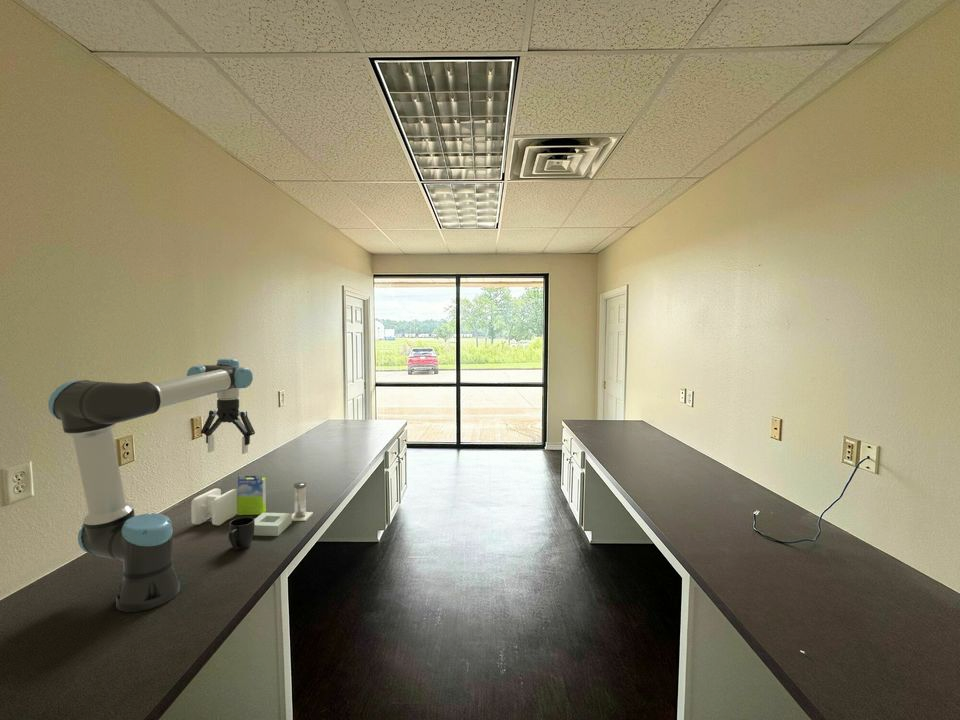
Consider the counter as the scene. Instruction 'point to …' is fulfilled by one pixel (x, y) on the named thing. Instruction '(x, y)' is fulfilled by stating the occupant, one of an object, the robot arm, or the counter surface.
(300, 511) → the brushed metal cylinder
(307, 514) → the coaster
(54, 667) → the counter surface
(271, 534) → the housing
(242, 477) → the box
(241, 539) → the mug
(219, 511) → the cable organizer
